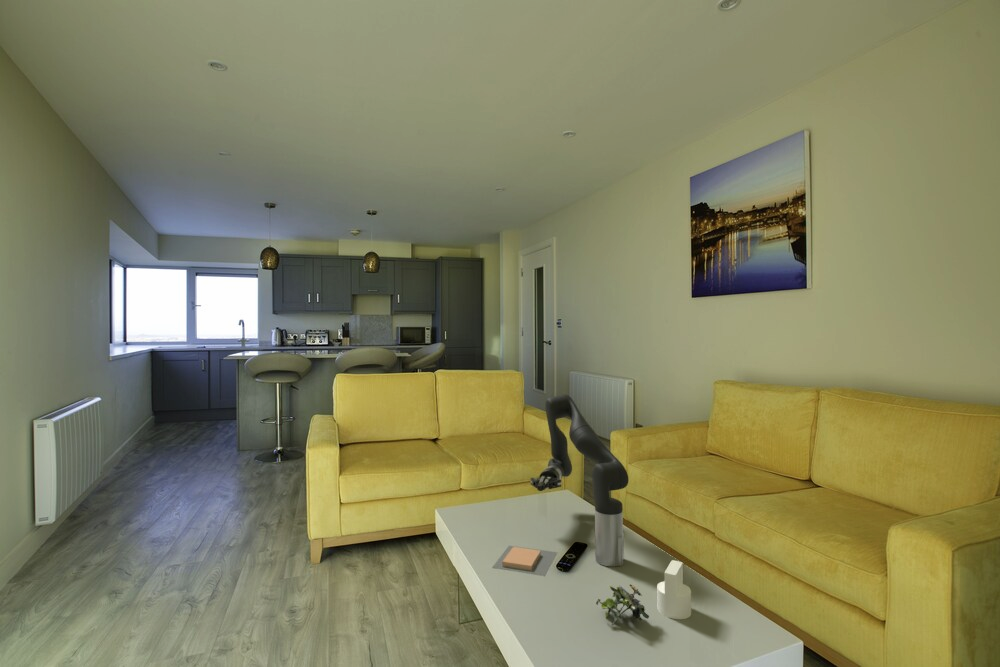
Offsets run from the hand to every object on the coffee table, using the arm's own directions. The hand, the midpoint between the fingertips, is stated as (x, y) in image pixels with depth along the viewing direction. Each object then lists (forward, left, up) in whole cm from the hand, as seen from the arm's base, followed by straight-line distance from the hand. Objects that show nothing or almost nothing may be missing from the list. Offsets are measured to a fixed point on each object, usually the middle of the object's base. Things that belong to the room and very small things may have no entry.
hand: (540, 488), depth 188 cm
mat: (+1, +18, -20) cm, 26 cm away
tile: (+2, +13, -18) cm, 22 cm away
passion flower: (-34, +44, -20) cm, 59 cm away
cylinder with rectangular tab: (-47, +34, -20) cm, 61 cm away
